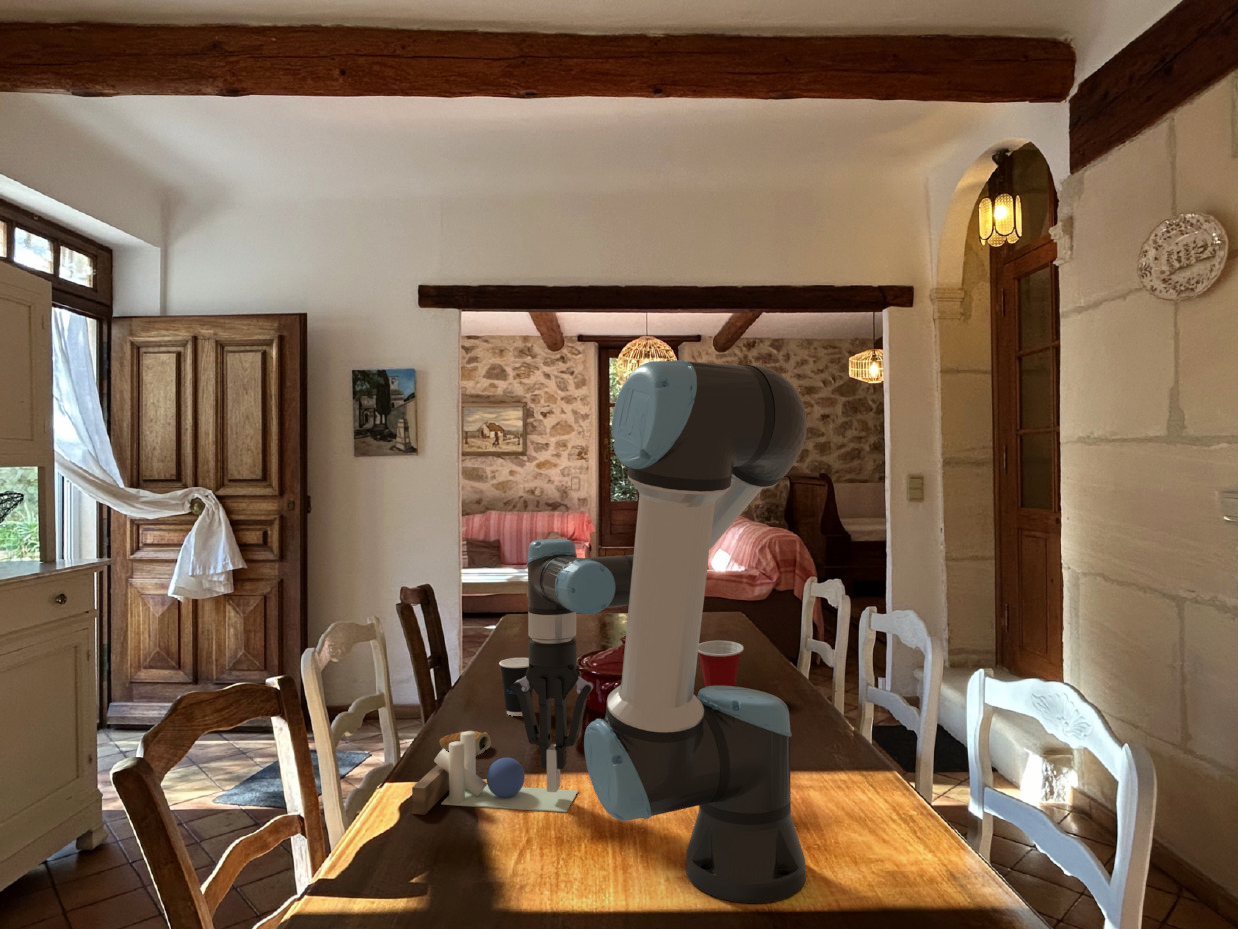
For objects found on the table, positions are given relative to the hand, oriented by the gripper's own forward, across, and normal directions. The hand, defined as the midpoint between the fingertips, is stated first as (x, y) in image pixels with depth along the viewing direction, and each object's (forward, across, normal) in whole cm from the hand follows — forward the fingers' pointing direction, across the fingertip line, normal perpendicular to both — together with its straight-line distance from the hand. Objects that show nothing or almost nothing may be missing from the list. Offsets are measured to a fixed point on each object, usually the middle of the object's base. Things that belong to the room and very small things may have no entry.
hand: (553, 788), depth 127 cm
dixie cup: (+2, +19, -44) cm, 48 cm away
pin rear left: (+2, +15, -2) cm, 15 cm away
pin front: (+1, +12, 0) cm, 12 cm away
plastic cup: (+2, -23, -60) cm, 65 cm away
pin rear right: (+2, +15, +2) cm, 15 cm away
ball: (-1, +8, 0) cm, 8 cm away
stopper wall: (+2, +19, 0) cm, 19 cm away
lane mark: (+2, +7, 0) cm, 7 cm away
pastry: (+2, +22, -20) cm, 30 cm away
